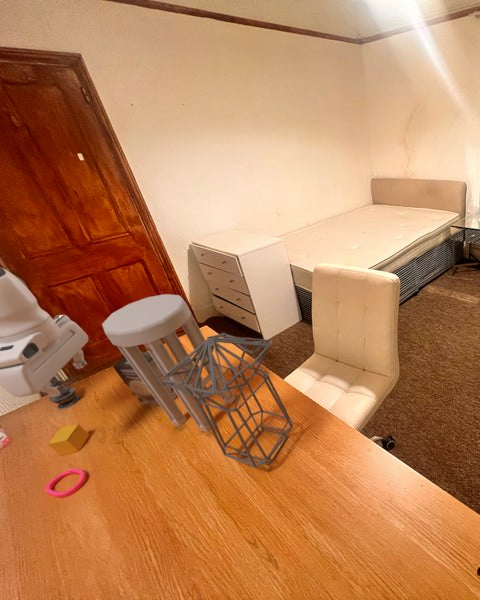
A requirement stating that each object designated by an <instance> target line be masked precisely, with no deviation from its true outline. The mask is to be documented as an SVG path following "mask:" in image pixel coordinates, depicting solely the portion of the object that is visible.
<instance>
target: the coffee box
mask: <svg viewBox="0 0 480 600" xmlns="http://www.w3.org/2000/svg"><path fill="white" fill-rule="evenodd" d="M141 353H142V354H143V355H144V357H145V358H146V360H147V361H148V363H149V364H150V366H151V367H152V369H153V370H154V372H155V373H156V375H157V376H158V378H159V379H160V381H161V382H162V383H163V380H164V375H163V373H162V372H161V370H160V369H159V367H158V365H157V364H156V362H155V361H154V359H153V358H152V356H151V355H150V353H149V352H148V351H141ZM112 368H113V369H114V371H115V372H116V373H117V374H118V376H119V377H120V379H122V381H123V382H124V384H125V385H126V387H127V389H128V390H129V391H130V392H131V394H133V396H134V397H135V399H136V400H137V401H138V402H139V404H140V405H141V406H149V407H150V406H151V407H152V406H153V407H161V406H160V405H159V403H158V402H157V401H156V399H155V398H154V396H153V395H152V394H151V392H150V391H149V389H148V388H147V387H146V385H145V384H144V383H143V381H142V380H141V378H140V377H139V376H138V374H137V373H136V371H135V370H134V369H133V367H132V366H131V365H130V363H129V362H128V360H127V359H126V358H125V356H123V357H122V358H120V359H119V360H118V361H117V362H116V363H115V364H113V365H112ZM163 385H164V386H165V385H166V384H165V383H163ZM173 391H174V390H173V388H171V389H169V390H168V392H169V394H170V393H172V392H173ZM175 398H177V396H176V397H175ZM175 398H174V399H173V400H174V401H175Z"/></svg>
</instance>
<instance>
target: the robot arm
mask: <svg viewBox="0 0 480 600" xmlns="http://www.w3.org/2000/svg"><path fill="white" fill-rule="evenodd" d="M88 342H89V335H88V334H87V333H86V331H84V330H83V328H82V327H81V326H80V325H78V323H76V322H75V321H73V320H71V319H70V317H69V316H68V315H65V314H57V315H55V316H54V317H53V318H52V316H51V315H50V314H49V313H48V312H47V311H46V310H44V309H42V308H41V306H40V305H39V303H38V300H37V298H36V296H34V294H33V293H32V292H31V290H29V288H28V286H27V284H26V282H25V281H24V280H23V279H21V278H20V276H17V275H15V274H14V273H12V272H10V271H9V270H8V269H6V268H3V267H0V386H1V387H3V388H4V389H5V391H7V392H8V393H9V394H10V395H11V396H13V397H18V398H23V397H29V396H33V395H36V394H37V395H38V394H39V393H40V392H42V393H46V394H47V395H48V396H49V397H56V396H59V395H60V394H61V393H62V392H63V389H61V387H60V386H56V387H52V386H50V385H51V382H50V380H51V379H52V378H53V377H54V376H55V377H56V375H57V374H58V373H59V372H60V371H61V370H62V369H63V368H64V367H65V366H66V365H67V364H68V363H69V362H70V361H71V360H73V363H72V366H73V367H74V368H75V369H76V370H80V369H84V368H85V367H86V366H87V365H88V362H87V361H86V360H85V356H84V350H83V348H84V346H85V345H86V344H87V343H88Z"/></svg>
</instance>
